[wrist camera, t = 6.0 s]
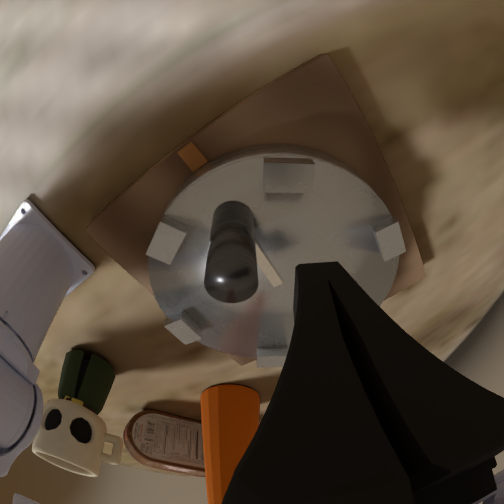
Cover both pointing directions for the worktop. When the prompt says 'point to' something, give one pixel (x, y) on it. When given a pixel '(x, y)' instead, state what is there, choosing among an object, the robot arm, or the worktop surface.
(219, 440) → the spray bottle
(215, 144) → the base board
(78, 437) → the character mug
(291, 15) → the worktop surface
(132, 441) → the tin
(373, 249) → the grey disc with blocks
